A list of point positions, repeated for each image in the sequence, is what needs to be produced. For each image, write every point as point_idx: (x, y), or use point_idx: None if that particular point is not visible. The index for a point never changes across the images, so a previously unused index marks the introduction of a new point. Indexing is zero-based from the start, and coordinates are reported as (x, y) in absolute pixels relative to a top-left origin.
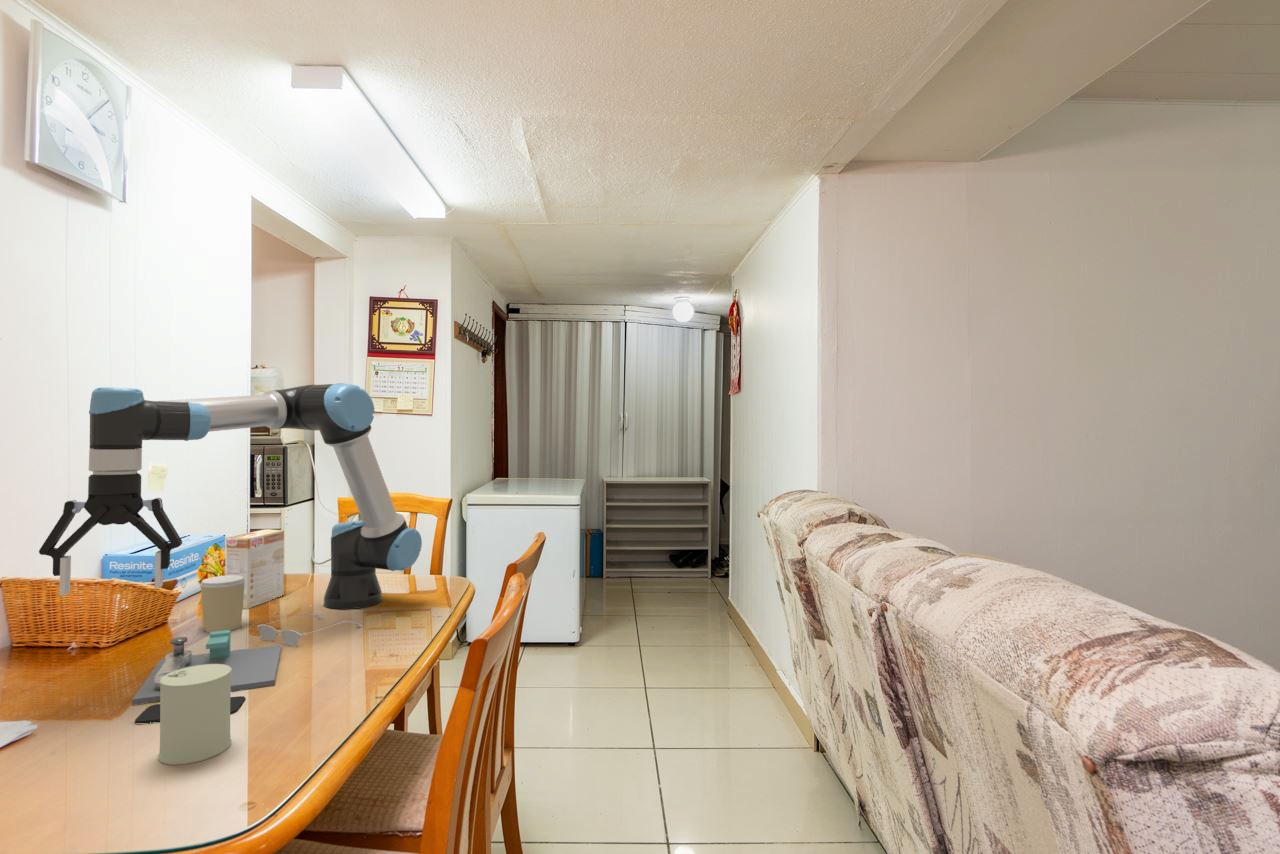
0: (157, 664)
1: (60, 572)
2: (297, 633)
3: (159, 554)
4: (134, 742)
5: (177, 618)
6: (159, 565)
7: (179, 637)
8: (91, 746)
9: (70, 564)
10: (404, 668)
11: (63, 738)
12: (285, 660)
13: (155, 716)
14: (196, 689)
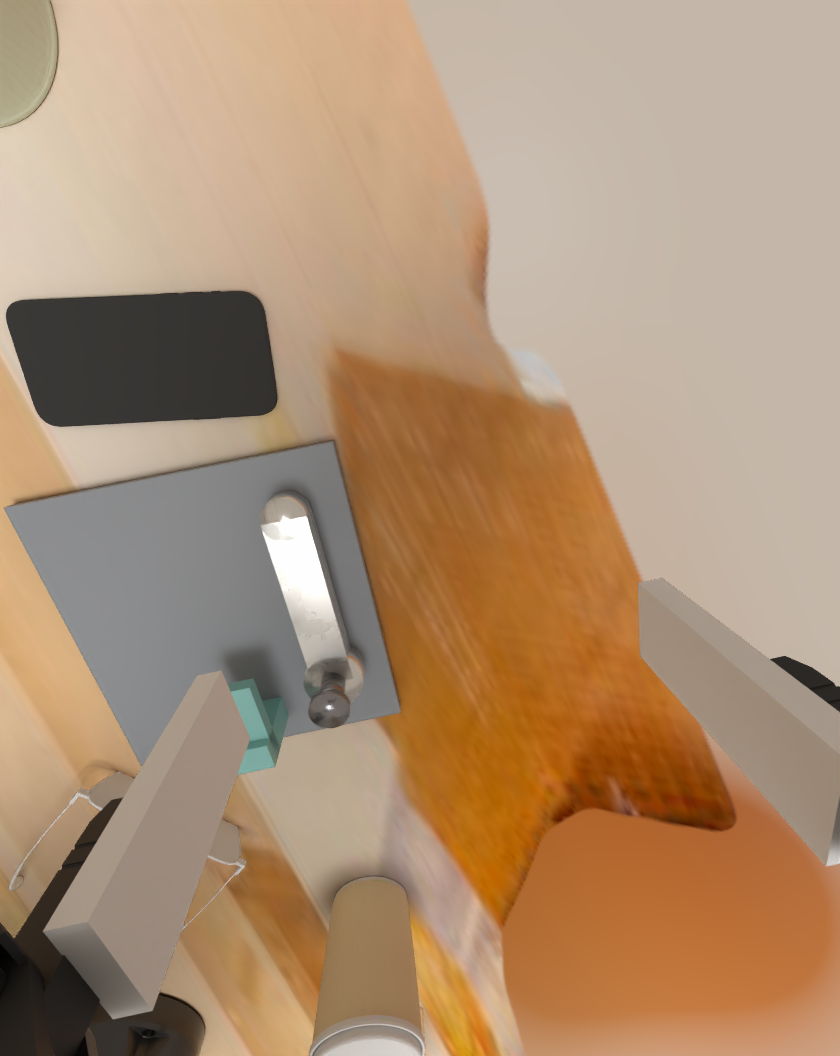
0: (391, 677)
1: (766, 661)
2: (92, 800)
3: (64, 907)
4: (186, 147)
5: (496, 958)
6: (126, 801)
7: (334, 724)
8: (291, 153)
9: (760, 787)
10: None
11: (393, 241)
12: (91, 680)
13: (217, 318)
14: None
